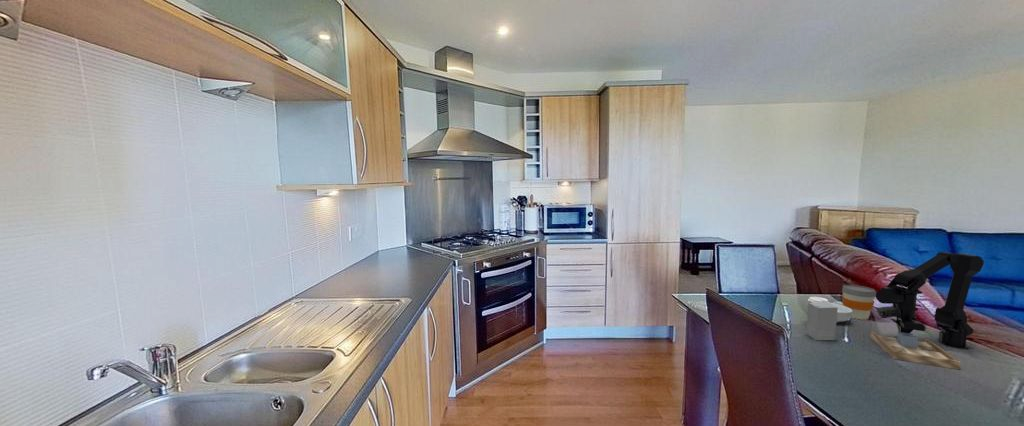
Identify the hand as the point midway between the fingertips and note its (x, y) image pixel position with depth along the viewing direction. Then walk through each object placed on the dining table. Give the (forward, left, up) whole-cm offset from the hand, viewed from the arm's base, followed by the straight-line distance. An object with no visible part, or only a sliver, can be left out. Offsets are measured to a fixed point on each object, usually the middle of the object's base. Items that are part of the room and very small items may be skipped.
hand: (902, 338), depth 153 cm
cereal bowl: (+19, -22, -3) cm, 29 cm away
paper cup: (+27, -8, -3) cm, 28 cm away
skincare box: (+29, +7, -3) cm, 30 cm away
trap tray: (0, +7, -3) cm, 8 cm away
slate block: (0, +4, -1) cm, 4 cm away
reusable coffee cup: (+5, -34, -3) cm, 34 cm away
